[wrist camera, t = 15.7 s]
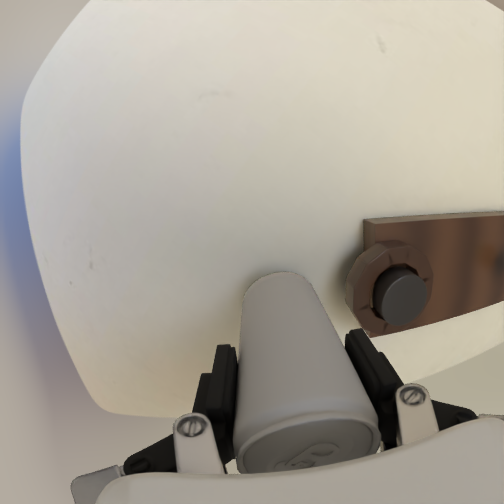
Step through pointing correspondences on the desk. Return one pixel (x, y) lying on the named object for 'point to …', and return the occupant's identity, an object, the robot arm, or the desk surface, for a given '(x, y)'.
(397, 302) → the button
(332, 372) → the beverage can
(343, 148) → the desk surface
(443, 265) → the switch box
